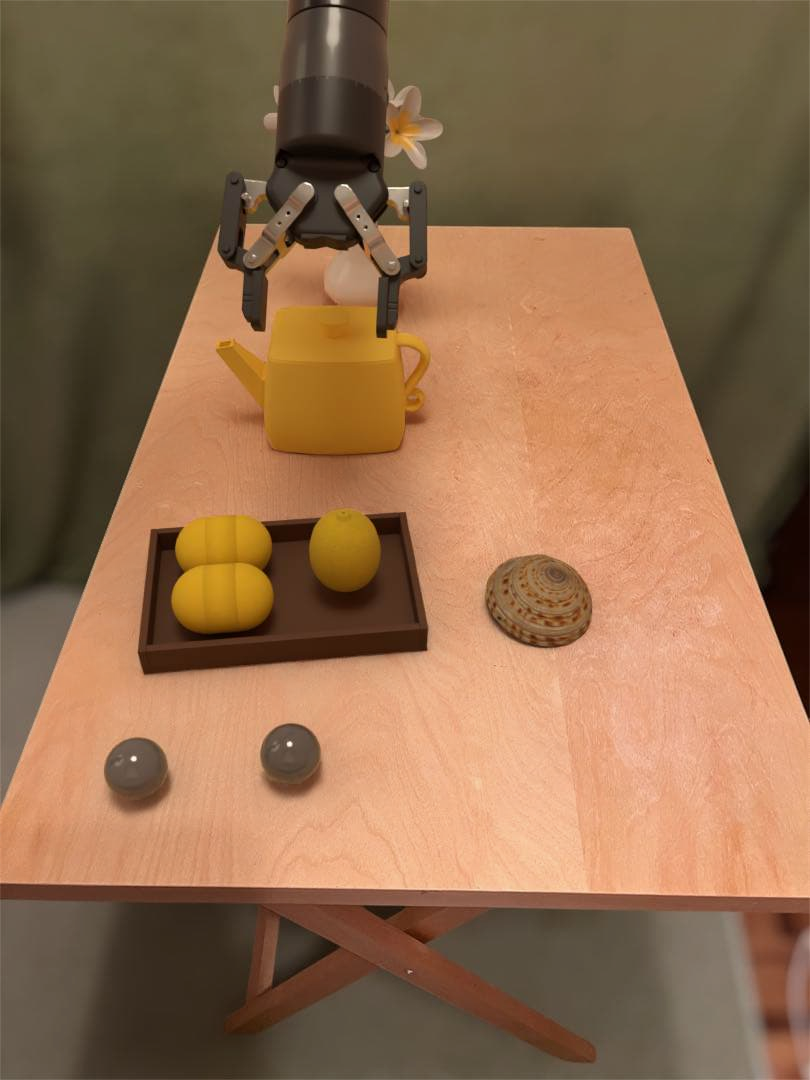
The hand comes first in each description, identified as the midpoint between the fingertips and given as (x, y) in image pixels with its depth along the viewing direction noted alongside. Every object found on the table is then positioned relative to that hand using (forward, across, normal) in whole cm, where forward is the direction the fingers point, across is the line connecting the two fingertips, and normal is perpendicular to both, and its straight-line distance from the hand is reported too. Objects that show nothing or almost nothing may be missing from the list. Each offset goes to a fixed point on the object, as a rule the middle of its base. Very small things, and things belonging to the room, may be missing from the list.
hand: (319, 332), depth 63 cm
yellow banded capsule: (+17, -8, +12) cm, 22 cm away
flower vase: (-14, -1, +44) cm, 47 cm away
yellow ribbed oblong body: (+21, -7, +9) cm, 23 cm away
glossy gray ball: (+31, -10, -1) cm, 33 cm away
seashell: (+18, +17, +12) cm, 28 cm away
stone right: (+30, 0, 0) cm, 30 cm away
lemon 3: (+18, +2, +12) cm, 21 cm away
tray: (+19, -3, +11) cm, 22 cm away
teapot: (+2, -2, +29) cm, 29 cm away
